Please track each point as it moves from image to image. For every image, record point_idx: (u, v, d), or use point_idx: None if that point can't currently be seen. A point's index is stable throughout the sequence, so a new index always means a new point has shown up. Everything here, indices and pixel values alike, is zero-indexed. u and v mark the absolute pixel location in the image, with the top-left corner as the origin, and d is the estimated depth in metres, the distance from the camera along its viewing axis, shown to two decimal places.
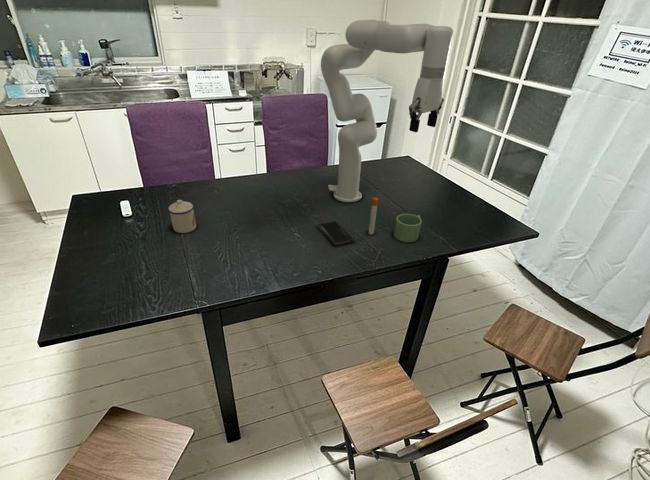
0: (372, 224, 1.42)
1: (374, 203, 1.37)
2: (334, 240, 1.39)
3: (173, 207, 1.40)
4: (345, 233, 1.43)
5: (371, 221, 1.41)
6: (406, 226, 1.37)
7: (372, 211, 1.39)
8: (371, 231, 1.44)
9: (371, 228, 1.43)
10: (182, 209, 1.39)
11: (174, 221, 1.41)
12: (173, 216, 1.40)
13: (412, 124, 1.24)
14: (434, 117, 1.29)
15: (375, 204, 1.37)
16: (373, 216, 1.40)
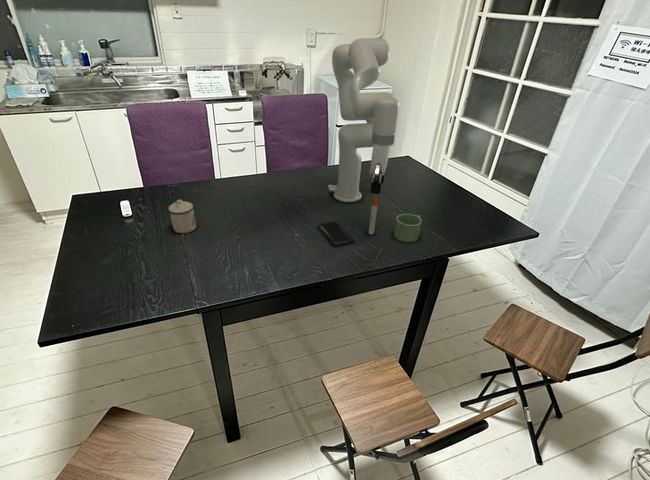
0: (372, 224, 1.42)
1: (374, 203, 1.37)
2: (334, 240, 1.39)
3: (173, 207, 1.40)
4: (345, 233, 1.43)
5: (371, 221, 1.41)
6: (406, 226, 1.37)
7: (372, 211, 1.39)
8: (371, 231, 1.44)
9: (371, 228, 1.43)
10: (182, 209, 1.39)
11: (174, 221, 1.41)
12: (173, 216, 1.40)
13: (375, 187, 1.28)
14: None
15: (375, 204, 1.37)
16: (373, 216, 1.40)
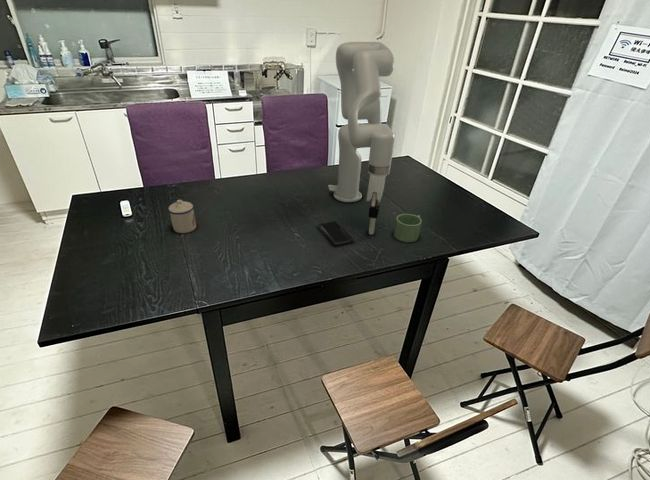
0: (372, 224, 1.42)
1: None
2: (334, 240, 1.39)
3: (173, 207, 1.40)
4: (345, 233, 1.43)
5: (371, 221, 1.41)
6: (406, 226, 1.37)
7: None
8: (371, 231, 1.44)
9: (371, 228, 1.43)
10: (182, 209, 1.39)
11: (174, 221, 1.41)
12: (173, 216, 1.40)
13: (372, 212, 1.38)
14: None
15: None
16: None
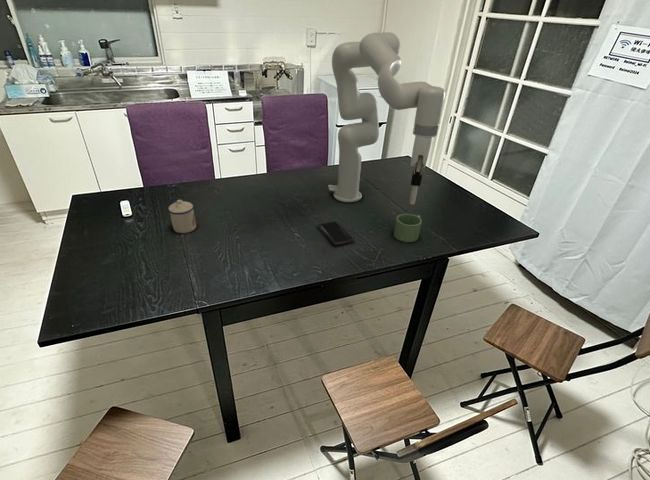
0: (414, 193, 1.32)
1: None
2: (334, 240, 1.39)
3: (173, 207, 1.40)
4: (345, 233, 1.43)
5: (413, 190, 1.32)
6: (406, 226, 1.37)
7: None
8: (412, 201, 1.34)
9: (413, 197, 1.34)
10: (182, 209, 1.39)
11: (174, 221, 1.41)
12: (173, 216, 1.40)
13: (415, 179, 1.28)
14: None
15: None
16: None
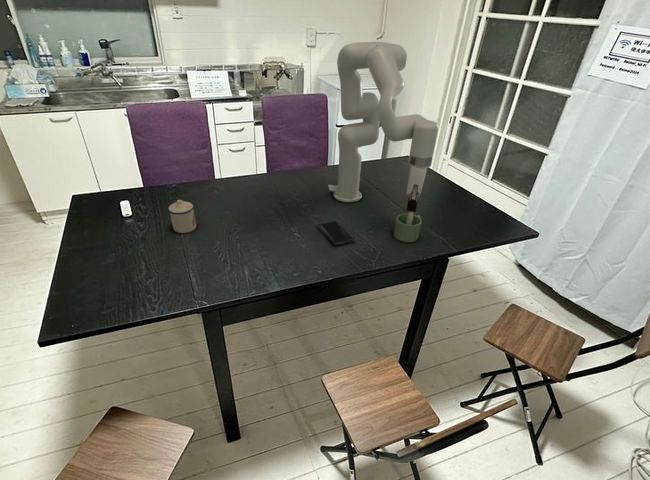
0: (409, 218, 1.38)
1: None
2: (334, 240, 1.39)
3: (173, 207, 1.40)
4: (345, 233, 1.43)
5: (409, 215, 1.38)
6: (406, 226, 1.37)
7: None
8: None
9: (409, 222, 1.39)
10: (182, 209, 1.39)
11: (174, 221, 1.41)
12: (173, 216, 1.40)
13: (411, 206, 1.34)
14: None
15: None
16: None
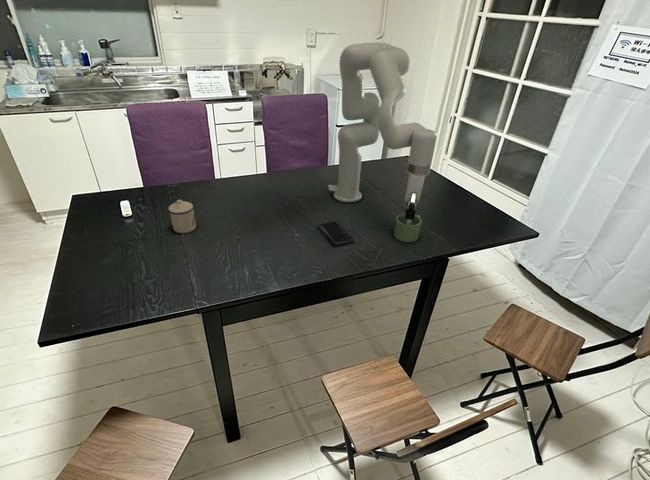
0: None
1: None
2: (334, 240, 1.39)
3: (173, 207, 1.40)
4: (345, 233, 1.43)
5: (408, 222, 1.39)
6: (406, 226, 1.37)
7: None
8: None
9: None
10: (182, 209, 1.39)
11: (174, 221, 1.41)
12: (173, 216, 1.40)
13: (409, 214, 1.32)
14: None
15: None
16: None
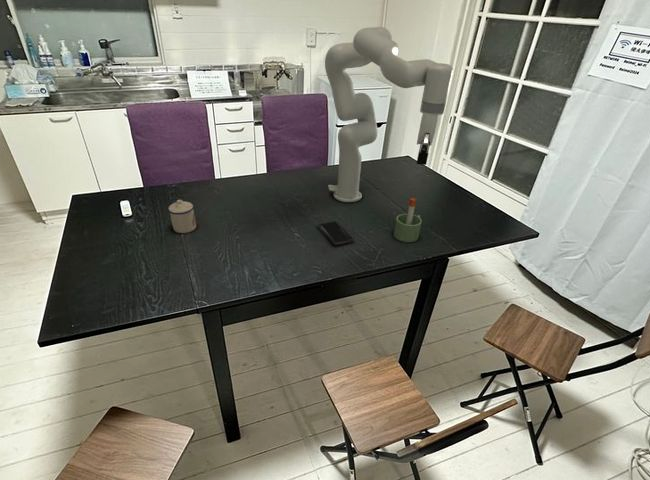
0: None
1: (412, 204, 1.35)
2: (334, 240, 1.39)
3: (173, 207, 1.40)
4: (345, 233, 1.43)
5: (408, 222, 1.39)
6: (406, 226, 1.37)
7: (409, 212, 1.37)
8: None
9: None
10: (182, 209, 1.39)
11: (174, 221, 1.41)
12: (173, 216, 1.40)
13: (422, 158, 1.26)
14: None
15: (413, 205, 1.35)
16: (410, 217, 1.38)
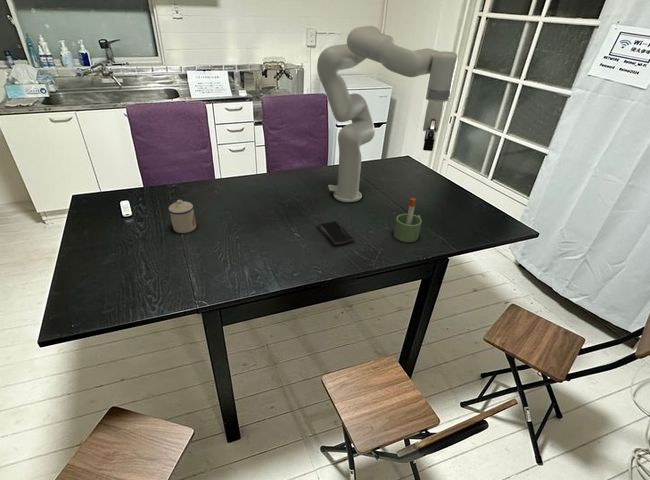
0: None
1: (412, 204, 1.35)
2: (334, 240, 1.39)
3: (173, 207, 1.40)
4: (345, 233, 1.43)
5: (408, 222, 1.39)
6: (406, 226, 1.37)
7: (409, 212, 1.37)
8: None
9: None
10: (182, 209, 1.39)
11: (174, 221, 1.41)
12: (173, 216, 1.40)
13: (428, 144, 1.30)
14: None
15: (413, 205, 1.35)
16: (410, 217, 1.38)
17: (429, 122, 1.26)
